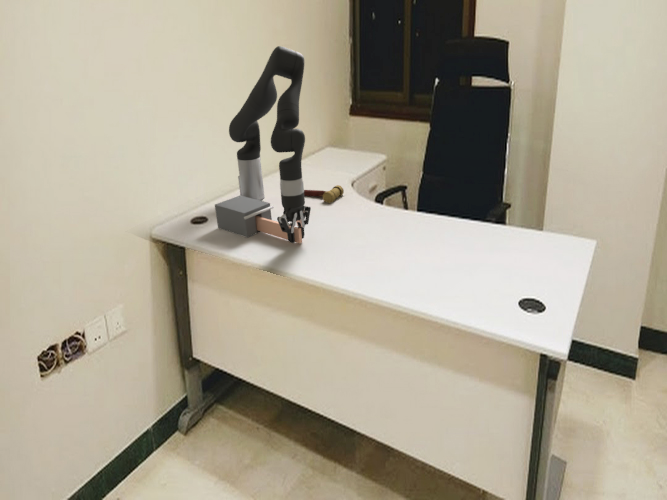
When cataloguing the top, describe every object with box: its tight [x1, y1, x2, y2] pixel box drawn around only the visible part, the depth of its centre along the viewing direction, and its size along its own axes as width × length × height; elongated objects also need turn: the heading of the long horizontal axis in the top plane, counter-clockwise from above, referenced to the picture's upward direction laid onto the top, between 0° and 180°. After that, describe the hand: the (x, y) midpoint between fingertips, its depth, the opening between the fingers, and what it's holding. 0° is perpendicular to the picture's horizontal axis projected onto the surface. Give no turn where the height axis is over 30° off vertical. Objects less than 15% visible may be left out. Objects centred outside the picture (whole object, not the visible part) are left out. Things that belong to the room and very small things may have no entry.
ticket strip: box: [255, 215, 303, 244], centre depth 193 cm, size 23×1×5 cm, turn 50°
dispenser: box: [214, 195, 274, 238], centre depth 202 cm, size 17×13×9 cm
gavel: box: [304, 184, 344, 204], centre depth 232 cm, size 21×5×10 cm
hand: (296, 239), depth 188 cm, fingers open, 4 cm apart
